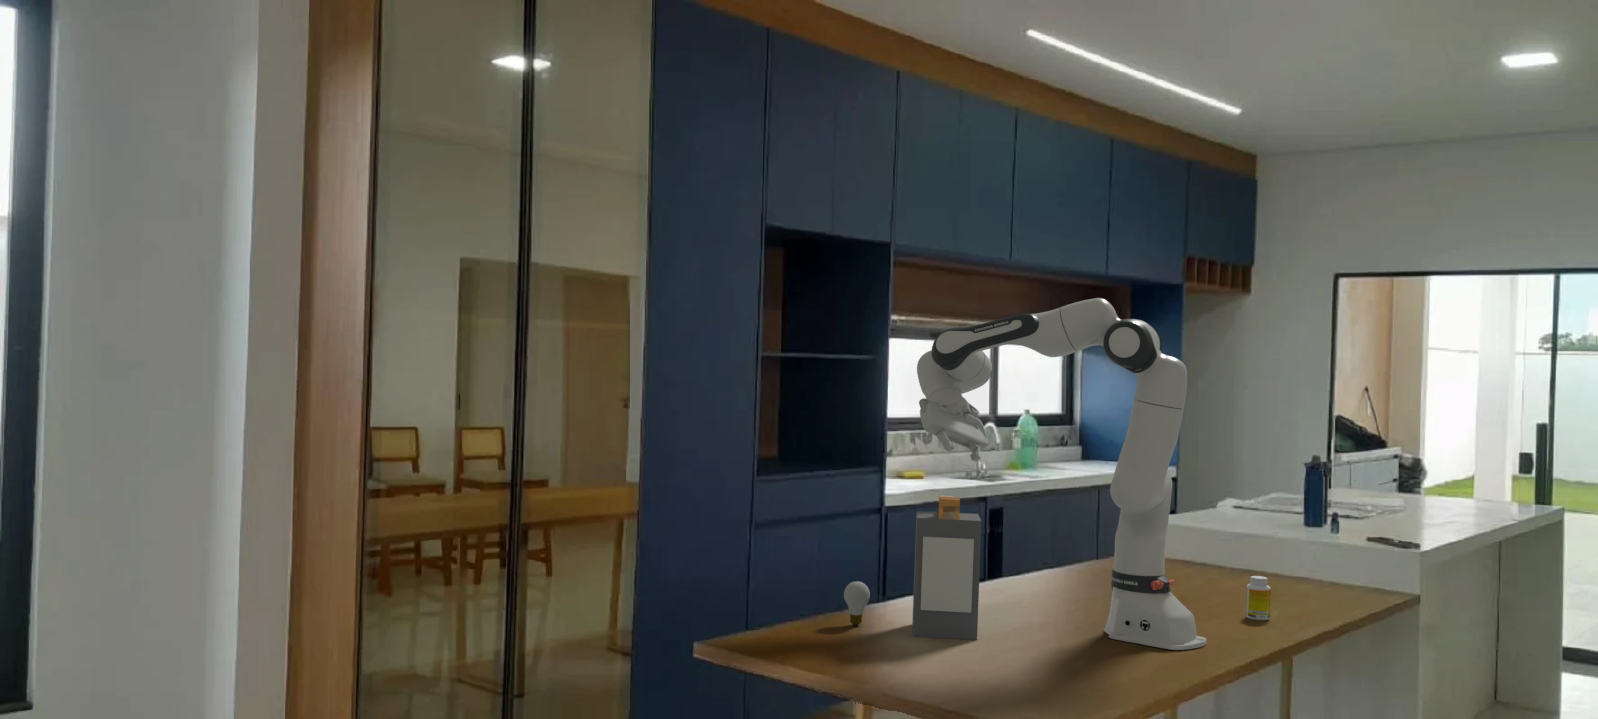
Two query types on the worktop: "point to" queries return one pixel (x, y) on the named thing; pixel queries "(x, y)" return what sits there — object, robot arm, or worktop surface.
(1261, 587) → the supplement bottle
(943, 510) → the bar
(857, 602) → the light bulb
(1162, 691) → the worktop surface
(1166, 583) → the robot arm
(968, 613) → the cabinet
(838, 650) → the worktop surface
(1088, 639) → the worktop surface
